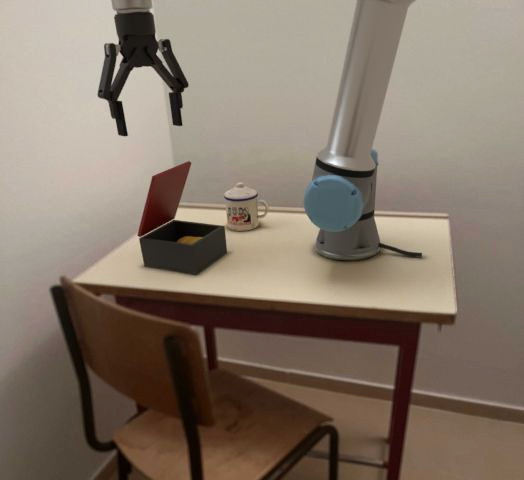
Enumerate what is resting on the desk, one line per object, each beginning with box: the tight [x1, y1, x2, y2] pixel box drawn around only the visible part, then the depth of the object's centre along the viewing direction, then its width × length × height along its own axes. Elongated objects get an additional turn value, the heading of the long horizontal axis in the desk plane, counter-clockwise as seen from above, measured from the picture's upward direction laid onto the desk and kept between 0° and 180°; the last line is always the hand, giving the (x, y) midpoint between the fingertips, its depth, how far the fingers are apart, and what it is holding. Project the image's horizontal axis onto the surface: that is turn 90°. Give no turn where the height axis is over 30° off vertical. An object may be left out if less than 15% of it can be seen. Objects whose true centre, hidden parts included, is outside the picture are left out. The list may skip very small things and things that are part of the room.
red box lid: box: [136, 160, 192, 238], centre depth 118 cm, size 16×14×1 cm
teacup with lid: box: [223, 181, 270, 232], centre depth 139 cm, size 12×9×12 cm
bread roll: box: [177, 236, 203, 244], centre depth 122 cm, size 8×9×4 cm
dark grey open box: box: [138, 219, 228, 276], centre depth 122 cm, size 15×14×7 cm
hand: (151, 130), depth 110 cm, fingers open, 13 cm apart
